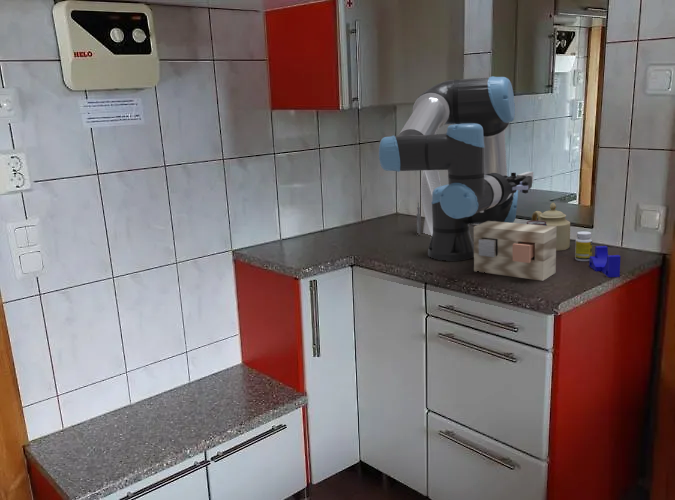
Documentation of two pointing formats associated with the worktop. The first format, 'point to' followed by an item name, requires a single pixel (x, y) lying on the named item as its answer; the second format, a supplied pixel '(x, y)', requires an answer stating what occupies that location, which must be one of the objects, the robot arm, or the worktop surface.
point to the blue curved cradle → (605, 262)
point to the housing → (507, 236)
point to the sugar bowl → (556, 220)
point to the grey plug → (488, 247)
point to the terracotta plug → (523, 252)
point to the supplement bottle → (583, 246)
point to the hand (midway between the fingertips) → (530, 177)
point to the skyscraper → (427, 199)
